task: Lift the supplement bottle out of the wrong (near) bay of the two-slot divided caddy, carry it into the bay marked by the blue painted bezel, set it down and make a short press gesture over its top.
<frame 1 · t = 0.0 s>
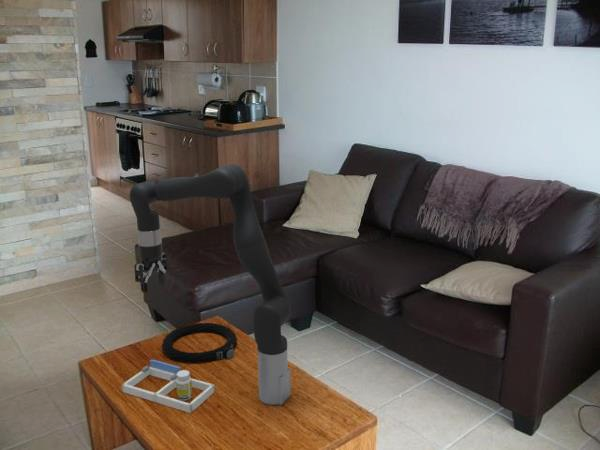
hand: (153, 287, 196), 29 cm above the table, fingers open, 8 cm apart
two-slot divided caddy: (168, 391, 188), on the table
cable lock: (202, 347, 218), on the table
supplement bottle: (184, 397, 185), resting in two-slot divided caddy
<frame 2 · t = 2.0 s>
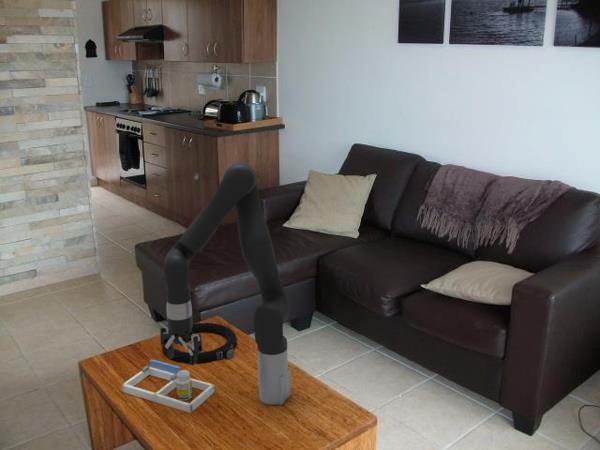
hand: (182, 361, 182), 12 cm above the table, fingers open, 8 cm apart
nothing on the table moved.
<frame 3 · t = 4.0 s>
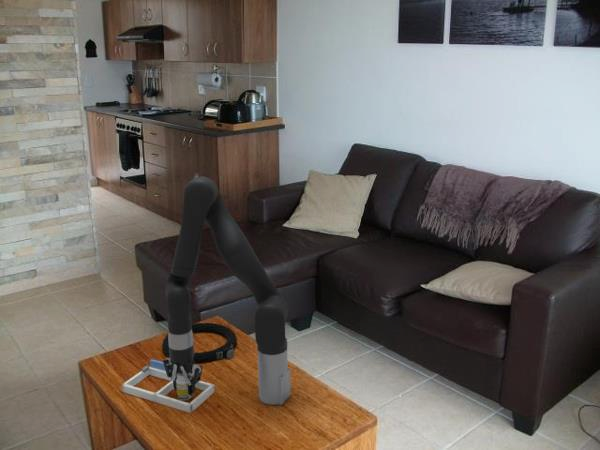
hand: (184, 391, 185), 2 cm above the table, fingers closed on supplement bottle, 4 cm apart
supplement bottle: (184, 397, 185), resting in two-slot divided caddy, touching gripper
everything else where it was.
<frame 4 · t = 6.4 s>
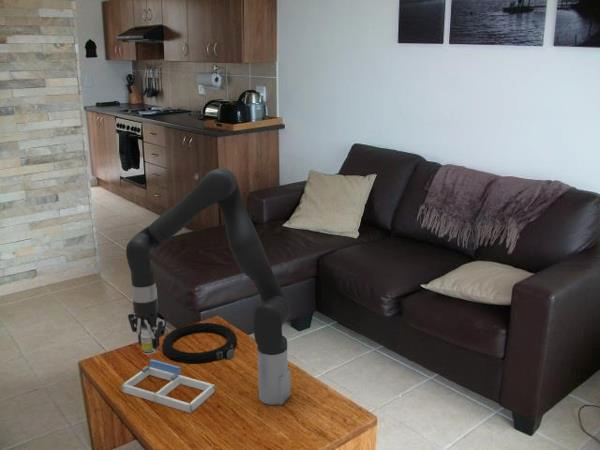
hand: (149, 345, 187), 15 cm above the table, fingers closed on supplement bottle, 4 cm apart
supplement bottle: (149, 351, 187), point 13 cm above the table, touching gripper
everything else where it was.
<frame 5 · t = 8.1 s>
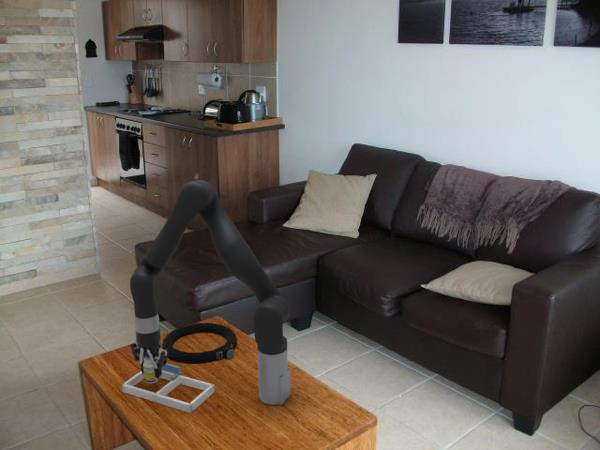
hand: (151, 374, 190), 4 cm above the table, fingers closed on supplement bottle, 4 cm apart
supplement bottle: (152, 380, 190), point 2 cm above the table, touching gripper
everything else where it was.
when the fingers open (3 cm above the table, at t = 9.3 s): supplement bottle stays where it is, resting in two-slot divided caddy.
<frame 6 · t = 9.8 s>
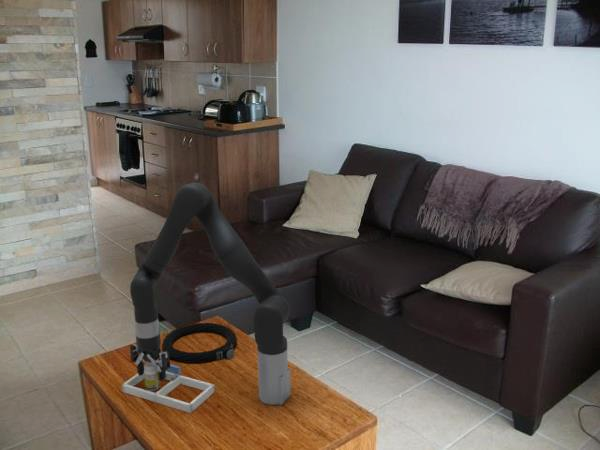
hand: (151, 377, 190), 4 cm above the table, fingers open, 8 cm apart
supplement bottle: (152, 387, 191), resting in two-slot divided caddy
everything else where it was.
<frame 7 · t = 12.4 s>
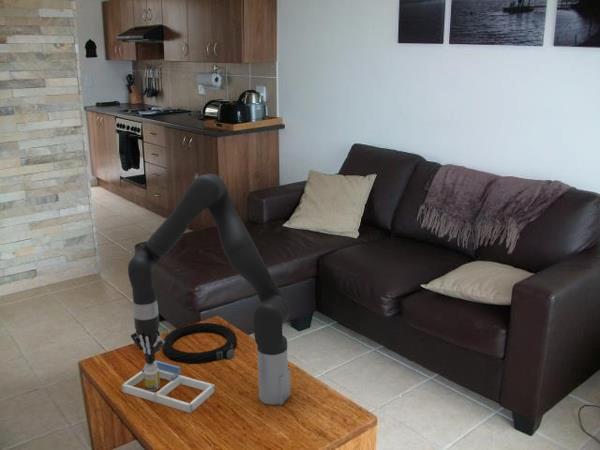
hand: (150, 362, 188), 9 cm above the table, fingers closed
nothing on the table moved.
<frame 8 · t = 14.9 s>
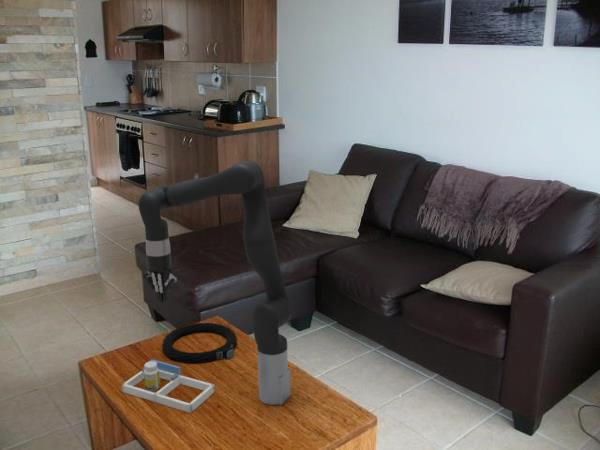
hand: (162, 301, 190), 27 cm above the table, fingers closed
nothing on the table moved.
at the end: supplement bottle inside the target area on the two-slot divided caddy (0.1 cm from its centre), point 0.0 cm above the two-slot divided caddy's base; supplement bottle tilted 0°; the gripper is holding nothing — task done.
